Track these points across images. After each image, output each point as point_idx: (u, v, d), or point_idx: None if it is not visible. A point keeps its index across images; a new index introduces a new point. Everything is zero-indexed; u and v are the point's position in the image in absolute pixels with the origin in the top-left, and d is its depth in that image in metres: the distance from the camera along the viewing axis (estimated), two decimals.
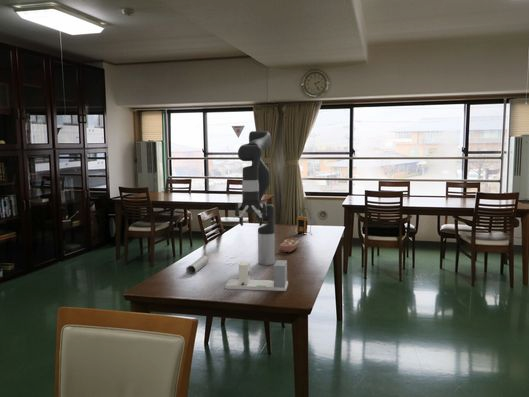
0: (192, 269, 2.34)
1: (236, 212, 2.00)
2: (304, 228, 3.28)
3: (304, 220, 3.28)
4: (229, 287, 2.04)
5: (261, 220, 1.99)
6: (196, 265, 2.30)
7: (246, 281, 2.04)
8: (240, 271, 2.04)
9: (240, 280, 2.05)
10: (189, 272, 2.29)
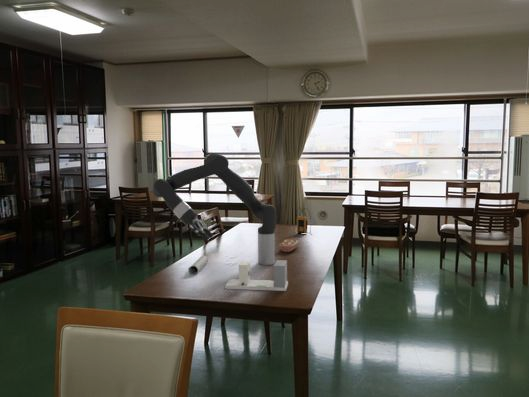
0: (193, 269, 2.34)
1: None
2: (304, 228, 3.28)
3: (304, 220, 3.28)
4: (229, 287, 2.04)
5: (202, 237, 2.04)
6: (198, 265, 2.30)
7: (246, 281, 2.04)
8: (240, 271, 2.04)
9: (240, 280, 2.05)
10: (191, 272, 2.29)
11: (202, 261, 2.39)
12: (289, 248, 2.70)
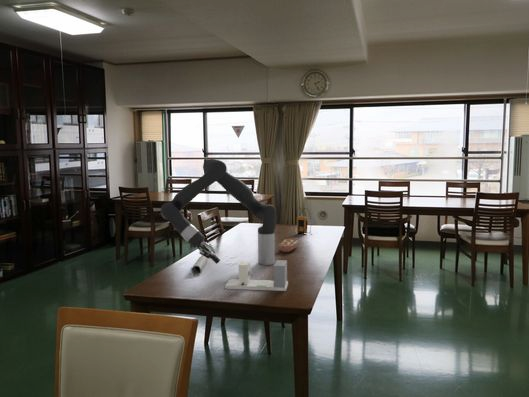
0: (195, 269, 2.34)
1: None
2: (304, 228, 3.28)
3: (304, 220, 3.28)
4: (229, 287, 2.04)
5: (213, 259, 2.08)
6: (200, 265, 2.30)
7: (246, 281, 2.04)
8: (240, 271, 2.04)
9: (240, 280, 2.05)
10: (193, 272, 2.29)
11: (203, 261, 2.39)
12: (288, 248, 2.71)
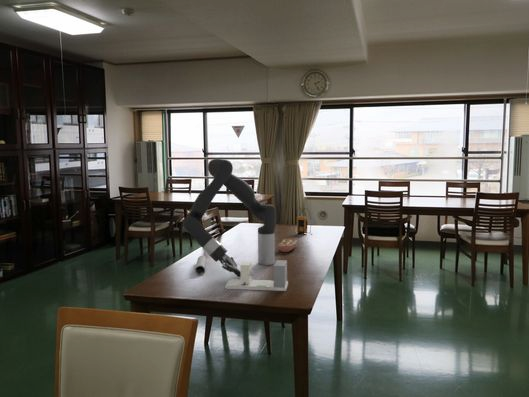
0: (197, 269, 2.34)
1: None
2: (304, 228, 3.28)
3: (304, 220, 3.28)
4: (229, 287, 2.04)
5: (235, 273, 2.07)
6: (203, 265, 2.31)
7: (248, 281, 2.04)
8: (242, 271, 2.04)
9: (242, 280, 2.05)
10: (197, 272, 2.29)
11: (204, 261, 2.39)
12: (287, 248, 2.71)
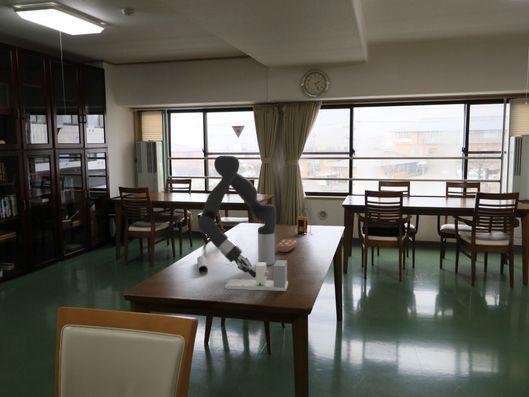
0: (199, 269, 2.34)
1: None
2: (304, 228, 3.28)
3: (304, 220, 3.28)
4: (229, 287, 2.04)
5: (250, 274, 2.06)
6: (205, 265, 2.31)
7: (263, 282, 2.03)
8: (257, 272, 2.03)
9: (257, 281, 2.03)
10: (200, 272, 2.29)
11: (205, 261, 2.40)
12: (286, 248, 2.71)
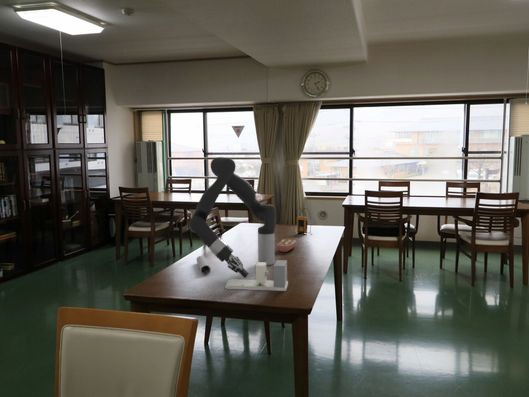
0: (201, 269, 2.34)
1: None
2: (304, 228, 3.28)
3: (304, 220, 3.28)
4: (229, 287, 2.04)
5: (241, 274, 2.06)
6: (207, 265, 2.31)
7: (263, 282, 2.03)
8: (257, 272, 2.03)
9: (257, 281, 2.03)
10: (202, 272, 2.29)
11: (205, 261, 2.40)
12: (286, 248, 2.71)
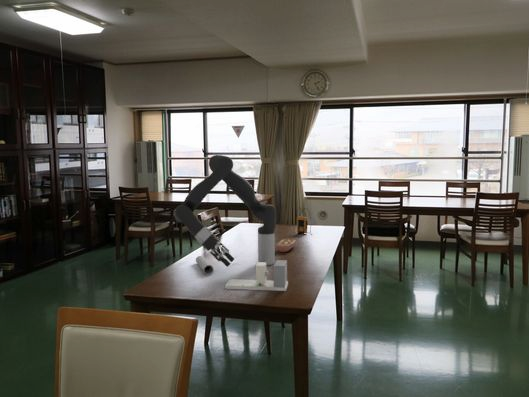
0: None
1: None
2: (304, 228, 3.28)
3: (304, 220, 3.28)
4: (229, 287, 2.04)
5: (223, 262, 2.03)
6: None
7: (263, 282, 2.03)
8: (257, 272, 2.03)
9: (257, 281, 2.03)
10: (205, 272, 2.29)
11: (206, 261, 2.40)
12: (285, 248, 2.71)
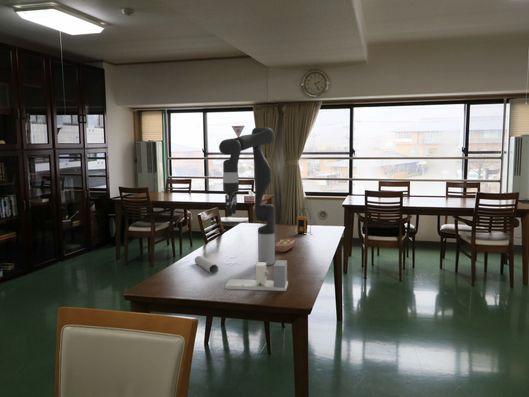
0: (206, 269, 2.34)
1: None
2: (304, 228, 3.28)
3: (304, 220, 3.28)
4: (229, 287, 2.04)
5: None
6: (213, 264, 2.33)
7: (263, 282, 2.03)
8: (257, 272, 2.03)
9: (257, 281, 2.03)
10: (209, 272, 2.30)
11: (207, 260, 2.40)
12: (284, 248, 2.71)
